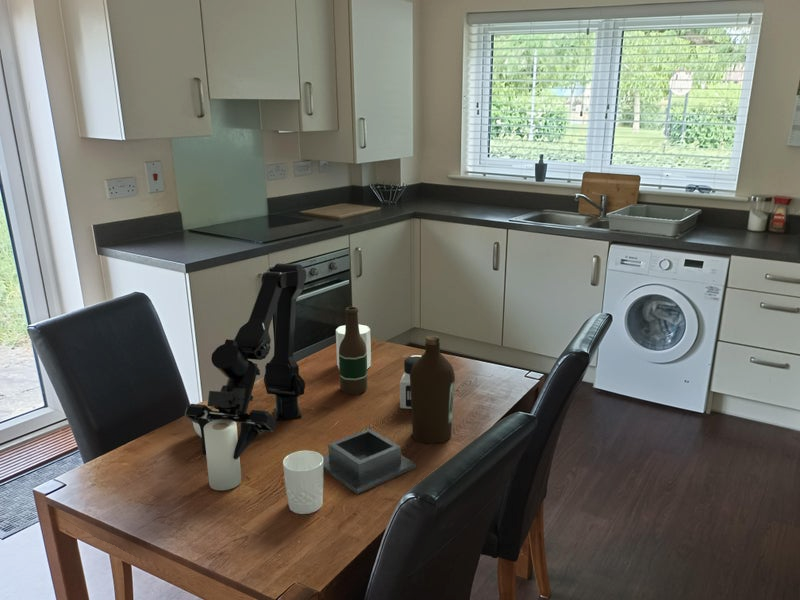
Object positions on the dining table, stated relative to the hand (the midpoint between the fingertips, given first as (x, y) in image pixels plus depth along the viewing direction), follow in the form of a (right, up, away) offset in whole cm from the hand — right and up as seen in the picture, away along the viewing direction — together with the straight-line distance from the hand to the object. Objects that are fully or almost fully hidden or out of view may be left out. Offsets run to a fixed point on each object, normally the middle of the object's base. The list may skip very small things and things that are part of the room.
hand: (219, 457), depth 137 cm
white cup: (+19, -9, -4) cm, 21 cm away
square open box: (+30, -4, +10) cm, 31 cm away
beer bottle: (+24, +7, +49) cm, 56 cm away
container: (+42, +5, +40) cm, 58 cm away
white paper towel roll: (0, -6, +3) cm, 7 cm away
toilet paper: (+23, +12, +66) cm, 71 cm away
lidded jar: (-7, -1, +23) cm, 24 cm away
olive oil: (+45, 0, +23) cm, 51 cm away
